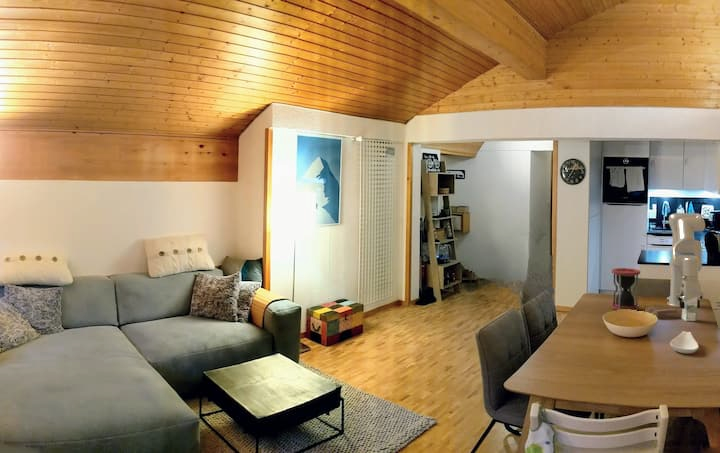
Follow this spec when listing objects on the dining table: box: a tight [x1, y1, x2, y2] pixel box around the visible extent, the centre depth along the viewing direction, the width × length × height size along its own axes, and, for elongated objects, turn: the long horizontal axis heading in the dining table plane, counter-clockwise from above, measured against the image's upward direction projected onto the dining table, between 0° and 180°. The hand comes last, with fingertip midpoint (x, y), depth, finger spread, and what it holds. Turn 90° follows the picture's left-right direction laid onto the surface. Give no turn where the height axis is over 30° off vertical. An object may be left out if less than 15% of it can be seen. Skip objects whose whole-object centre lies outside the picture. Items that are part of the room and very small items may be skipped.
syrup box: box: [680, 297, 698, 322], centre depth 306 cm, size 6×6×14 cm
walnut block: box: [644, 305, 678, 320], centre depth 317 cm, size 12×12×5 cm
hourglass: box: [610, 267, 641, 311], centre depth 334 cm, size 16×16×25 cm
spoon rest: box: [669, 330, 700, 355], centre depth 258 cm, size 24×12×7 cm, turn 145°
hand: (689, 307), depth 305 cm, fingers open, 9 cm apart
